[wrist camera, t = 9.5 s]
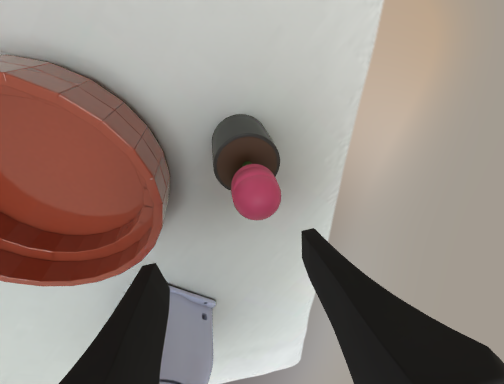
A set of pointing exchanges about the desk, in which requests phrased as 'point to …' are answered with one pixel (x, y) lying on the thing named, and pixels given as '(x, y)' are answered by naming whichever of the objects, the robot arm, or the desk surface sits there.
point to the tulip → (247, 165)
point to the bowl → (73, 178)
